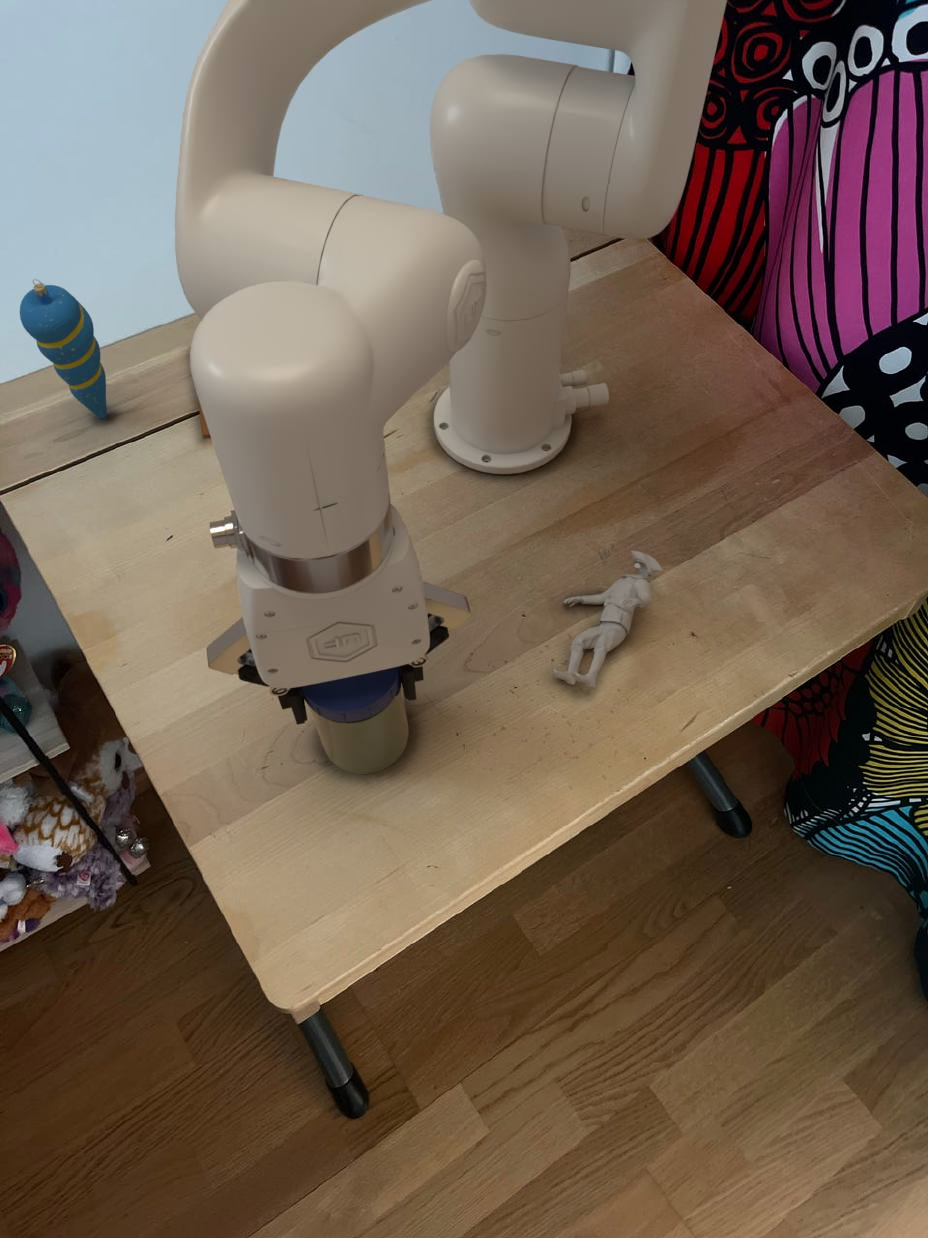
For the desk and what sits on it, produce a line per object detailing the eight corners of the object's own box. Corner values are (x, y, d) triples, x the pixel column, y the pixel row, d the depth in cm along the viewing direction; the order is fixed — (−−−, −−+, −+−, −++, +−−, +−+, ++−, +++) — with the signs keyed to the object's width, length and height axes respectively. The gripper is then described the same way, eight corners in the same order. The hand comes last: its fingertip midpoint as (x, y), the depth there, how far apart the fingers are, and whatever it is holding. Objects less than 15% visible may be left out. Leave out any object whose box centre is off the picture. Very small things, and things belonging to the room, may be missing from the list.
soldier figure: (526, 670, 72) (583, 535, 74) (569, 694, 74) (623, 563, 76) (590, 680, 65) (650, 532, 67) (635, 707, 67) (692, 563, 70)
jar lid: (306, 732, 57) (302, 722, 56) (292, 642, 61) (288, 630, 59) (410, 709, 58) (409, 698, 57) (390, 622, 61) (388, 609, 60)
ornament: (116, 441, 84) (53, 305, 71) (63, 433, 84) (-8, 296, 72) (138, 401, 86) (81, 263, 74) (87, 394, 87) (22, 256, 74)
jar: (398, 686, 69) (387, 616, 60) (416, 763, 66) (407, 701, 57) (315, 705, 69) (291, 637, 60) (329, 783, 66) (306, 724, 57)
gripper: (147, 616, 43) (228, 772, 58) (502, 548, 45) (493, 715, 60) (139, 498, 47) (217, 672, 62) (467, 441, 49) (466, 622, 64)
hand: (353, 692), depth 61 cm, fingers closed on jar lid, 6 cm apart
